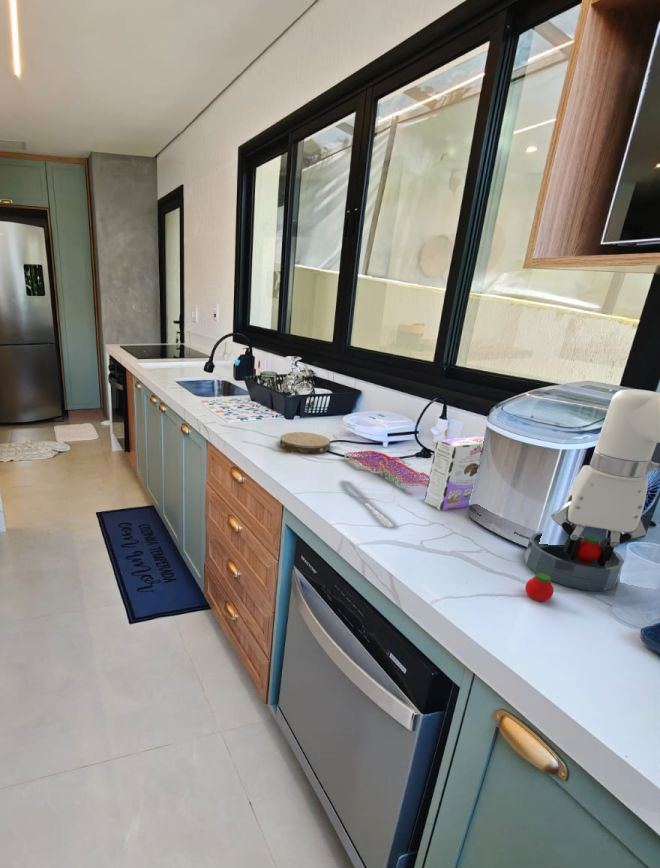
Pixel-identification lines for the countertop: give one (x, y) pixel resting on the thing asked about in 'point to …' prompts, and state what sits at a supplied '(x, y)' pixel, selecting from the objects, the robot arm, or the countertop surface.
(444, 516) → the countertop surface
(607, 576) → the bowl
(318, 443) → the wooden disc
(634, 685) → the countertop surface
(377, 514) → the butter knife
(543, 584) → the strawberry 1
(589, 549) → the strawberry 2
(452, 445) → the candy box
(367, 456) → the speckled fish figure
